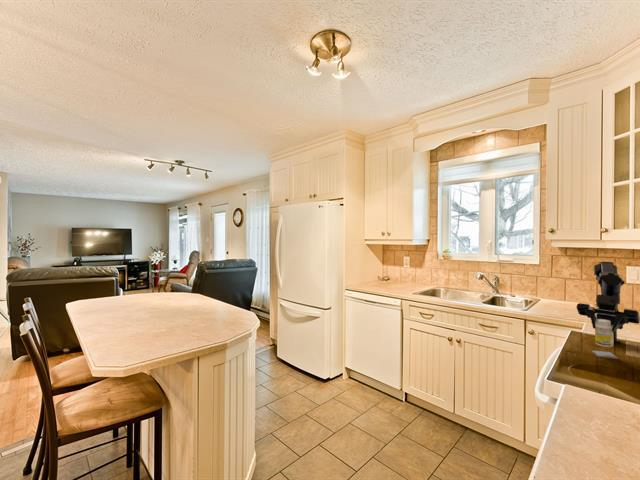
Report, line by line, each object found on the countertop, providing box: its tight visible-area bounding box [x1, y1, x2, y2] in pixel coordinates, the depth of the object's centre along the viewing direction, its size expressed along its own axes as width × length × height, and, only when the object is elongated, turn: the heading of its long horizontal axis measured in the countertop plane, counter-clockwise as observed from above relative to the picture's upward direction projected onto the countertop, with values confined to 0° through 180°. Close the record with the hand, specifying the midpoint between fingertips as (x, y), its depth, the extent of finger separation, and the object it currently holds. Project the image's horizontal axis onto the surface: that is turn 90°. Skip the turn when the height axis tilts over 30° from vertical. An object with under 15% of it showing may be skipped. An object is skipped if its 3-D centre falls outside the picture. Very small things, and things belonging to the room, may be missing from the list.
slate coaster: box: [591, 350, 619, 360], centre depth 123 cm, size 6×6×1 cm
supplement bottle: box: [594, 319, 615, 348], centre depth 123 cm, size 6×6×10 cm
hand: (603, 329), depth 122 cm, fingers closed on supplement bottle, 5 cm apart
